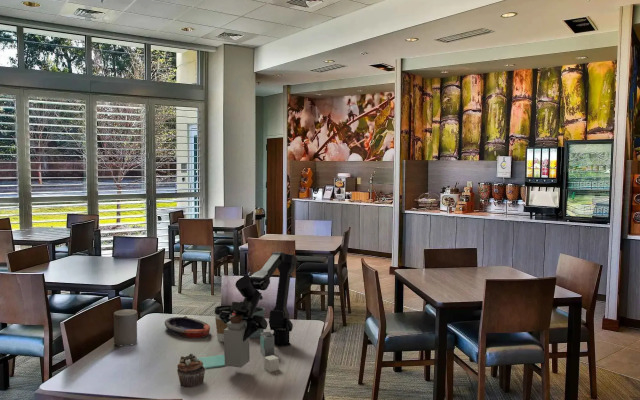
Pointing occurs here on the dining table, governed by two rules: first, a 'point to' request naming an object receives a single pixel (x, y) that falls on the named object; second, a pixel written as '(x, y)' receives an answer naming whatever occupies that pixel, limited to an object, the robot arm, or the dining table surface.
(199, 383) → the cupcake
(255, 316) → the robot arm
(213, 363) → the teal tile
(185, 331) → the inflatable boat
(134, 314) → the pillar candle
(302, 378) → the dining table surface
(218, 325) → the coffee cup
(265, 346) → the napkin dispenser
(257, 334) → the drinking glass
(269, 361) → the grey block
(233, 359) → the perfume bottle
